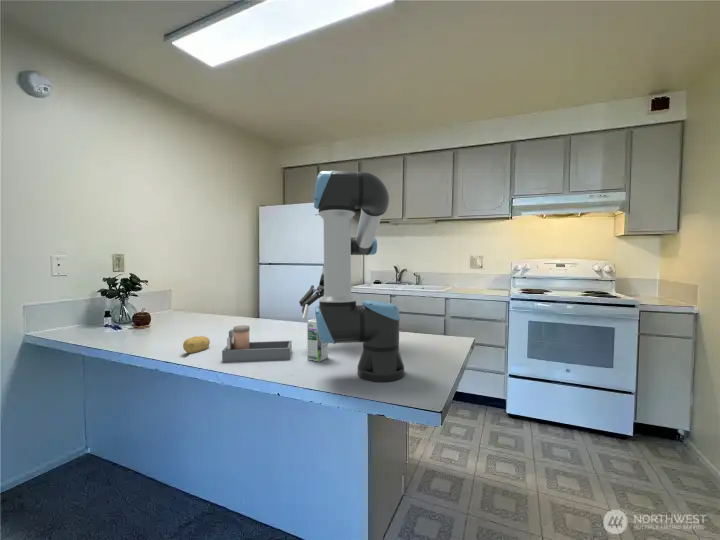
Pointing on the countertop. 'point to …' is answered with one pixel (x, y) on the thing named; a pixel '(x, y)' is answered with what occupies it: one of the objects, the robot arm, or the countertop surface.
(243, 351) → the gray tray
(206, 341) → the potato
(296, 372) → the countertop surface
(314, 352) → the syrup box
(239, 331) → the jar
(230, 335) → the pusher
